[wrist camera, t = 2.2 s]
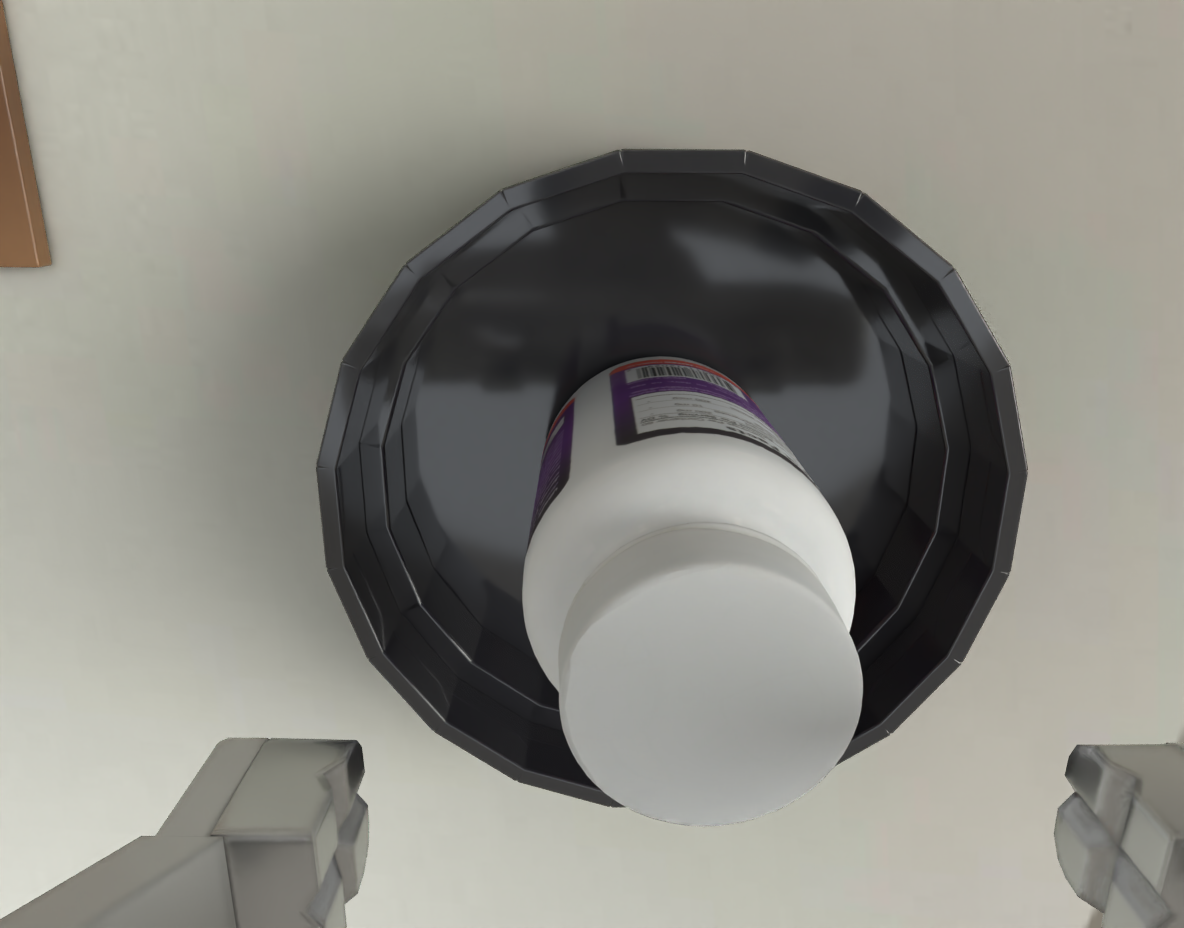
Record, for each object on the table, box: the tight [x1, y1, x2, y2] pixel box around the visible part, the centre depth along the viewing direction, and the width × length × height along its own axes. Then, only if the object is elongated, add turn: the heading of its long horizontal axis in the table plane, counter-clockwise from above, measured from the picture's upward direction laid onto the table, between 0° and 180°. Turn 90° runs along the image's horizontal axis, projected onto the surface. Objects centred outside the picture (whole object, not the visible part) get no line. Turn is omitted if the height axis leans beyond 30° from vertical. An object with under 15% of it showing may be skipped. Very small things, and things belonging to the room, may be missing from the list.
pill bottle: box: [522, 356, 863, 826], centre depth 16 cm, size 5×5×10 cm
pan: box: [316, 149, 1028, 807], centre depth 19 cm, size 14×14×4 cm
